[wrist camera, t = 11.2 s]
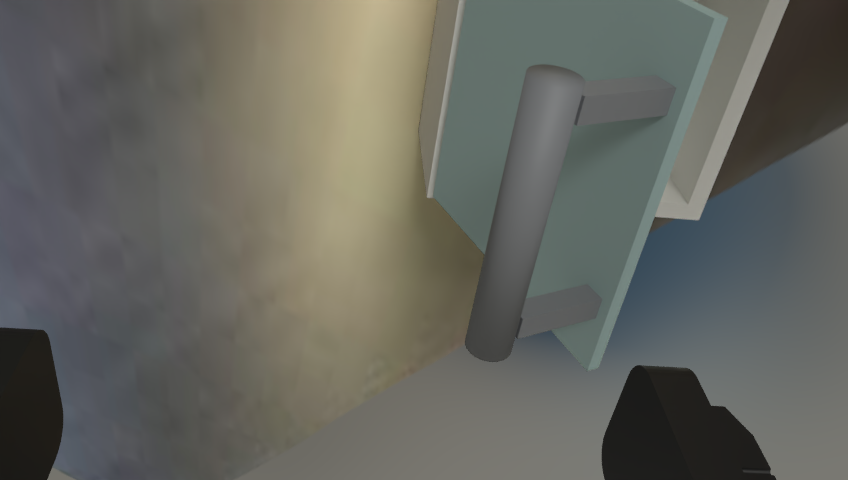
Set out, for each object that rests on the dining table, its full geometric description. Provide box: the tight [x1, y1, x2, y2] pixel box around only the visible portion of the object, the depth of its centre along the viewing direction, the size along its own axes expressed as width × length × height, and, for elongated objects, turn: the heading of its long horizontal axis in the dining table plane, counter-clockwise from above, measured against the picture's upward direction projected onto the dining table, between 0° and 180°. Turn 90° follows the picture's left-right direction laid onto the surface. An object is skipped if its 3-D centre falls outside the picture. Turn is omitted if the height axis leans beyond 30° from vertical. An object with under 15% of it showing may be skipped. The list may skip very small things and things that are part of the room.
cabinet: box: [419, 0, 789, 220], centre depth 42 cm, size 16×16×8 cm
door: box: [433, 0, 728, 371], centre depth 31 cm, size 15×14×6 cm
